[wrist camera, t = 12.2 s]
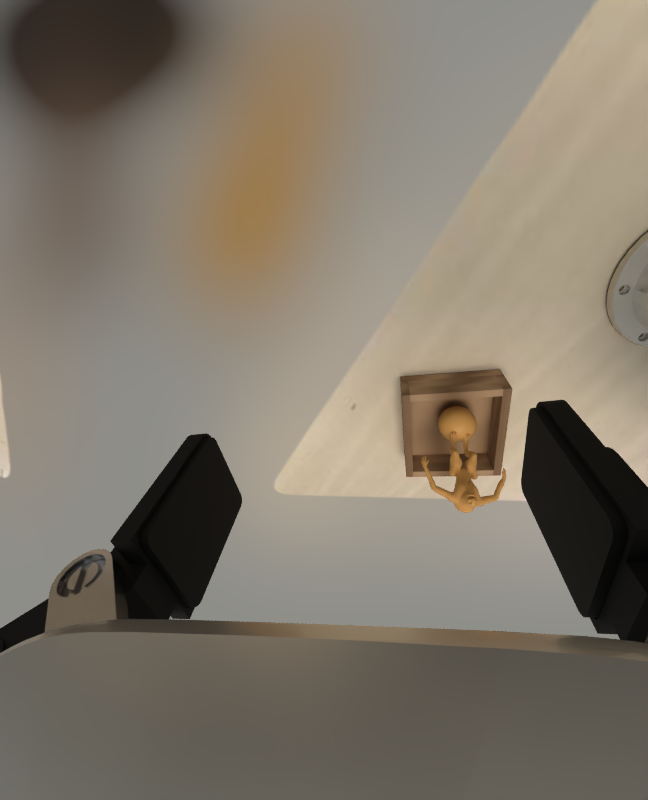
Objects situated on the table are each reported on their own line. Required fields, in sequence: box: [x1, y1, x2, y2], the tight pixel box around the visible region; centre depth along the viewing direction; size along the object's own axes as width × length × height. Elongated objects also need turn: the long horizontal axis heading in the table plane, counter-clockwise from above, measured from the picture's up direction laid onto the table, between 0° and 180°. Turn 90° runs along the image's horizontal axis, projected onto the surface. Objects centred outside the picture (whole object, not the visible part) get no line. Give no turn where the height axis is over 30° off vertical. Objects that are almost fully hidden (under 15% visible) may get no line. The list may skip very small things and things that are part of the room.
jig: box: [400, 369, 512, 477], centre depth 40 cm, size 11×12×4 cm
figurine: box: [421, 406, 506, 513], centre depth 35 cm, size 8×6×12 cm
